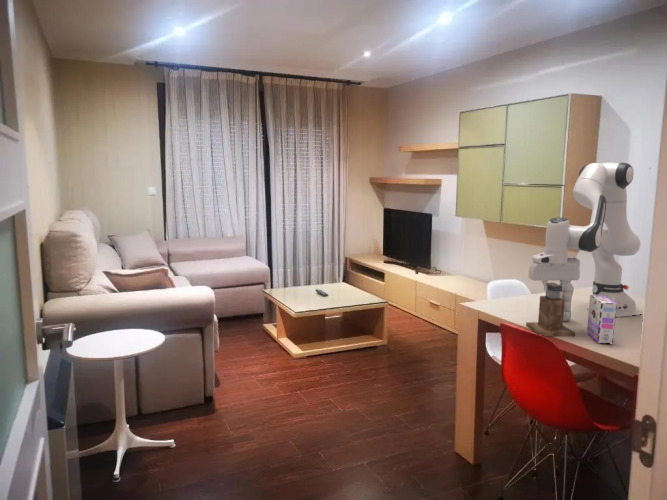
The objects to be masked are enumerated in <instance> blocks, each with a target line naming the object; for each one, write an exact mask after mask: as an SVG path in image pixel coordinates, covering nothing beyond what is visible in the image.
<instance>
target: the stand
mask: <svg viewBox="0 0 667 500" xmlns="http://www.w3.org/2000/svg"><path fill="white" fill-rule="evenodd" d="M538 305H539V306H538V307H539V308H538V320H537V321H536V322H535V321H529V322H528V321H527V322H526V323H525V326H526V327H527V328H529V329H530V330H532V332H534V333H536V334H537V333H539V334H541V335H544V336H543V337H575V335H576V331H574V330H572V329H571V328H568V327H567V326H565V325H564V321H563V317H564V305H565V300H563V299H561V298H560V299H552V300H550V299H548V298H546V297H545V295H540V296H539V304H538ZM539 334H538V335H539Z"/></svg>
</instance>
